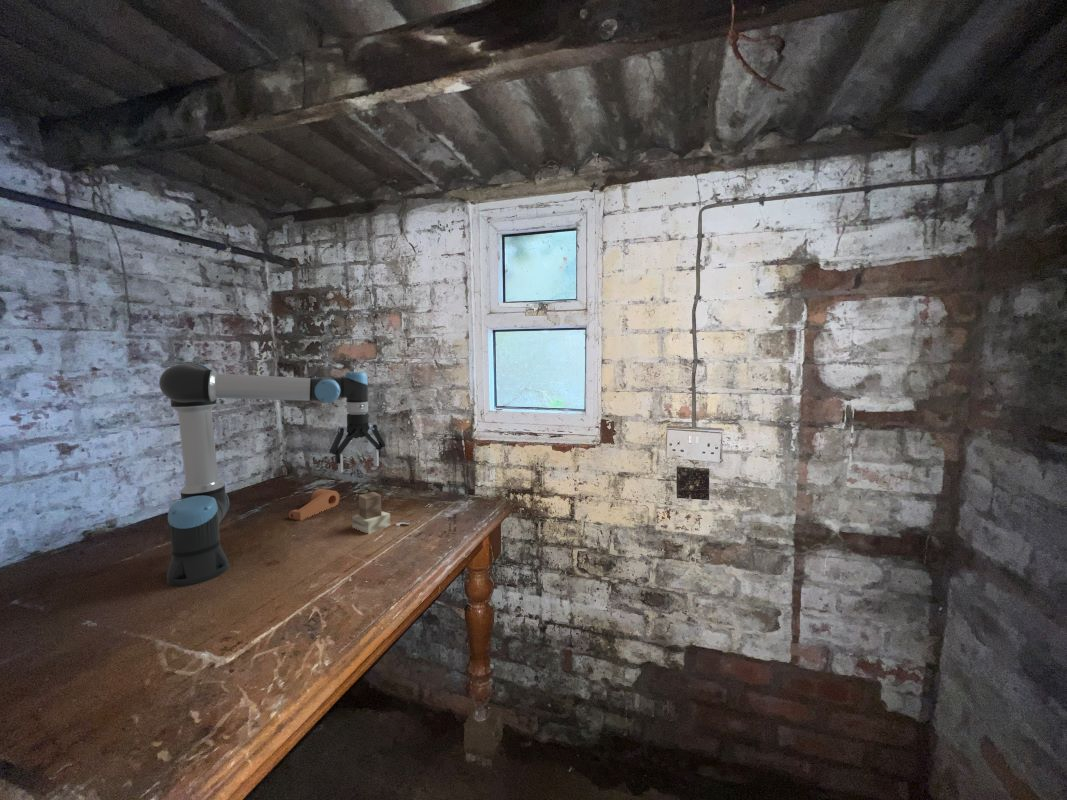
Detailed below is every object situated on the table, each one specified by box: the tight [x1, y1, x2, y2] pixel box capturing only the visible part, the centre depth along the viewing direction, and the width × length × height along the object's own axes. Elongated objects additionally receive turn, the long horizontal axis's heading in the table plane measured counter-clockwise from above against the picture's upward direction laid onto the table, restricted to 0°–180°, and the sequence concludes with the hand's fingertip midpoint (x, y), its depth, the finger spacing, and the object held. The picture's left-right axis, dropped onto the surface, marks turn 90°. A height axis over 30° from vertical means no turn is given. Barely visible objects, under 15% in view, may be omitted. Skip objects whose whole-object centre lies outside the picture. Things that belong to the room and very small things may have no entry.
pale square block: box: [351, 510, 392, 535], centre depth 167 cm, size 10×10×5 cm
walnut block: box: [358, 491, 382, 519], centre depth 166 cm, size 6×6×8 cm
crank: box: [288, 488, 340, 521], centre depth 183 cm, size 20×8×8 cm, turn 158°
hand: (359, 468), depth 163 cm, fingers open, 13 cm apart
